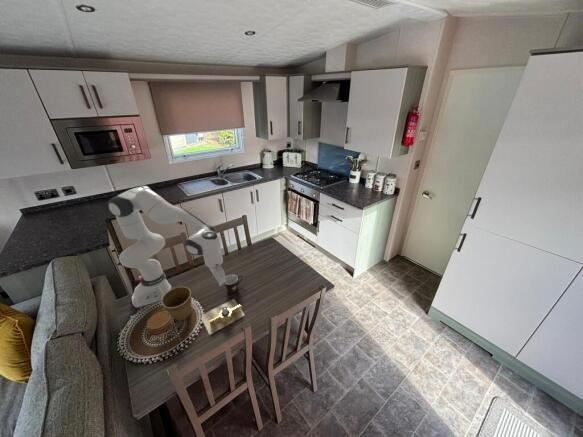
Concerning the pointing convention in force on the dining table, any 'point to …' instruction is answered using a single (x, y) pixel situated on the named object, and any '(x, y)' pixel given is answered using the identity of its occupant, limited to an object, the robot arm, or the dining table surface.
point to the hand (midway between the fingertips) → (217, 279)
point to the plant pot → (178, 302)
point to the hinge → (225, 318)
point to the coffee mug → (232, 283)
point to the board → (215, 313)
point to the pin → (225, 311)
